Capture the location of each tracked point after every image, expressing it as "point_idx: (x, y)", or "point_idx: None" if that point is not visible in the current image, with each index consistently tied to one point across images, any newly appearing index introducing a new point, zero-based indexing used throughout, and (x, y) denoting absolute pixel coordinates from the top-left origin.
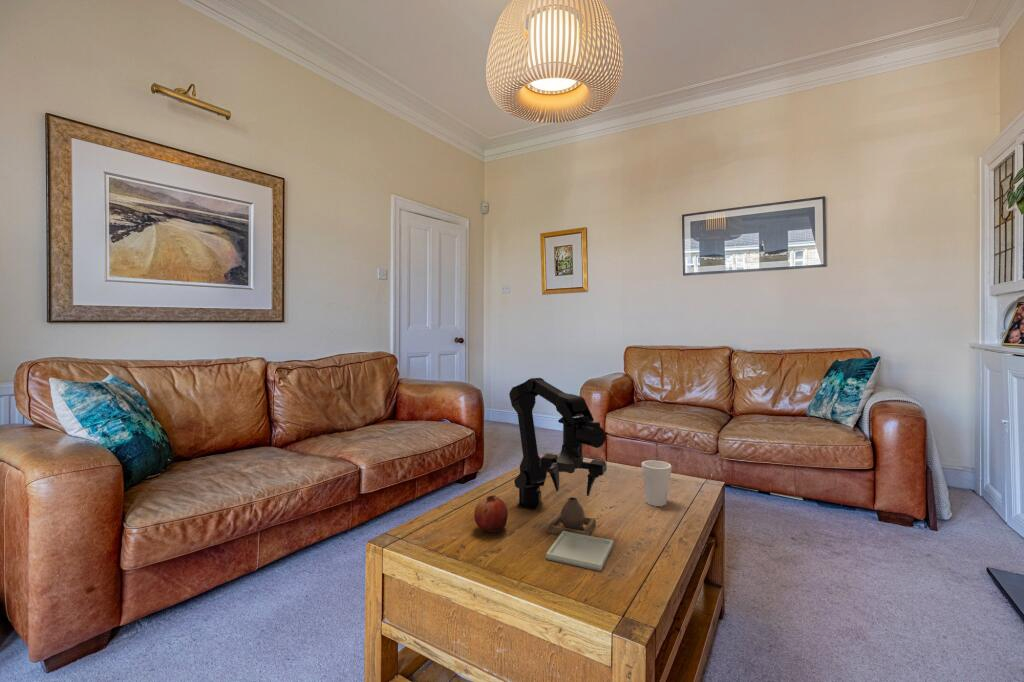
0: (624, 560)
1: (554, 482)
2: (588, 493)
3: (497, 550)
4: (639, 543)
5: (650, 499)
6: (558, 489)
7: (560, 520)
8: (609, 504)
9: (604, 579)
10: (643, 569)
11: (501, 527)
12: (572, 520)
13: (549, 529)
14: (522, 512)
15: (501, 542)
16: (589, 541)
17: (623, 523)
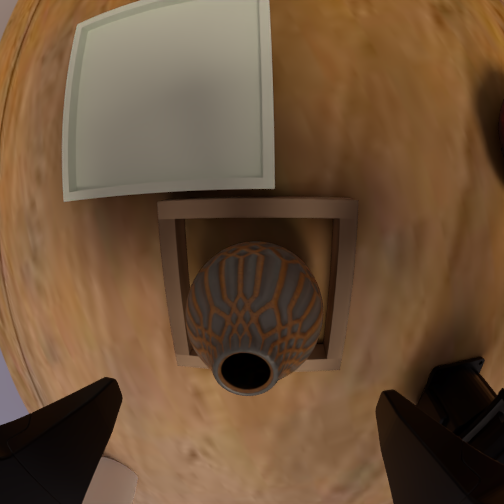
0: (40, 126)
1: (440, 433)
2: (91, 386)
3: (439, 15)
4: (34, 256)
5: (114, 472)
6: (378, 412)
7: (327, 321)
8: (204, 465)
9: (80, 10)
10: (10, 115)
11: (502, 106)
12: (234, 248)
13: (349, 198)
14: (469, 328)
15: (460, 64)
16: (142, 170)
17: (113, 375)
